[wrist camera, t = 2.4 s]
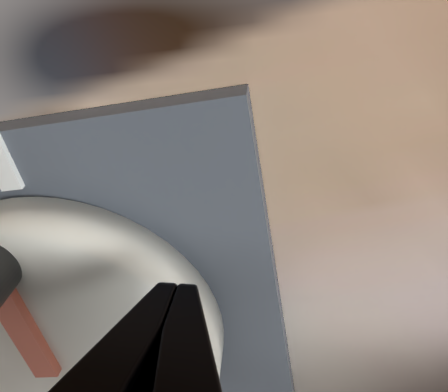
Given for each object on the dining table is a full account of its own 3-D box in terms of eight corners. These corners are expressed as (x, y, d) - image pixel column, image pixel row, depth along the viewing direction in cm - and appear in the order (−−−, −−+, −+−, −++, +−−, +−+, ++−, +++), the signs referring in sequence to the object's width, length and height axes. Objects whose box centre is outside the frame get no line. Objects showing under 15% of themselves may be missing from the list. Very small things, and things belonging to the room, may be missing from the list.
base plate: (247, 84, 11) (245, 97, 10) (297, 408, 19) (298, 435, 18) (-201, 152, 14) (-238, 168, 13) (-5, 414, 21) (-18, 437, 20)
